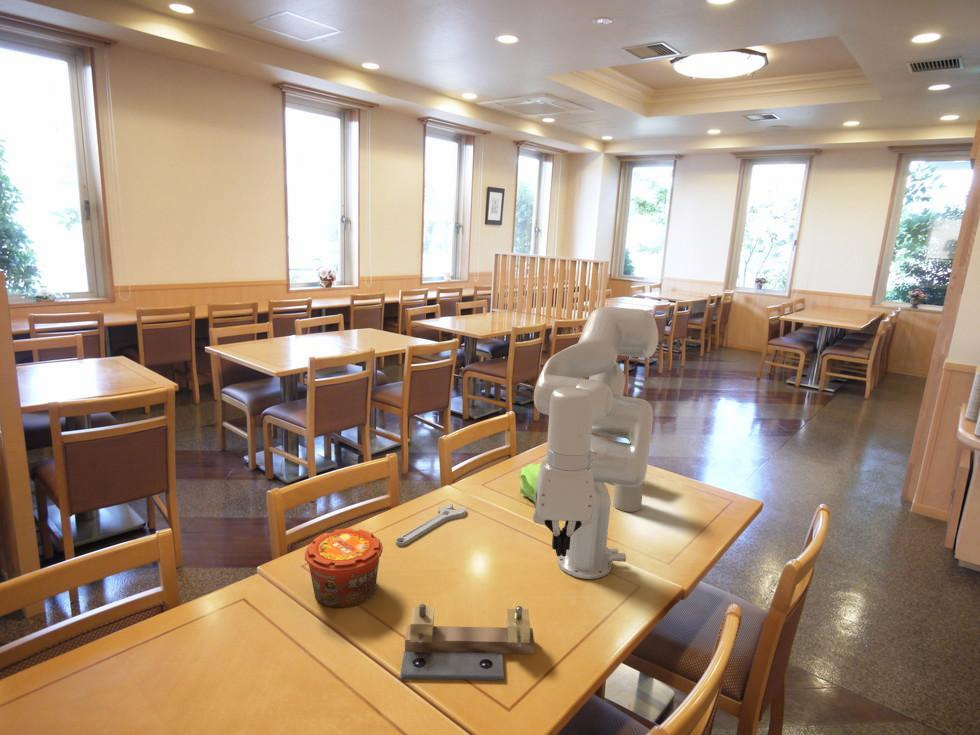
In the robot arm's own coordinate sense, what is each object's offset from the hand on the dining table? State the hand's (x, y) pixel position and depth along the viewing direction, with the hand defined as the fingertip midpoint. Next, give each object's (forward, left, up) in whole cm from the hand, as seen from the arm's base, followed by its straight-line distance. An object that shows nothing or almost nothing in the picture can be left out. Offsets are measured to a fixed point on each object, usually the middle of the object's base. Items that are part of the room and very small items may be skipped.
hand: (560, 552), depth 107 cm
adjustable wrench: (+27, -46, -21) cm, 57 cm away
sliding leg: (+7, +1, -18) cm, 19 cm away
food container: (+43, -17, -21) cm, 50 cm away
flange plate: (+19, +6, -20) cm, 28 cm away
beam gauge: (+16, +1, -20) cm, 26 cm away
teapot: (-5, -64, -21) cm, 67 cm away
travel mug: (-29, -60, -21) cm, 70 cm away
